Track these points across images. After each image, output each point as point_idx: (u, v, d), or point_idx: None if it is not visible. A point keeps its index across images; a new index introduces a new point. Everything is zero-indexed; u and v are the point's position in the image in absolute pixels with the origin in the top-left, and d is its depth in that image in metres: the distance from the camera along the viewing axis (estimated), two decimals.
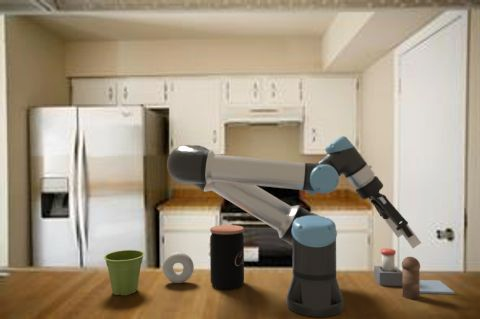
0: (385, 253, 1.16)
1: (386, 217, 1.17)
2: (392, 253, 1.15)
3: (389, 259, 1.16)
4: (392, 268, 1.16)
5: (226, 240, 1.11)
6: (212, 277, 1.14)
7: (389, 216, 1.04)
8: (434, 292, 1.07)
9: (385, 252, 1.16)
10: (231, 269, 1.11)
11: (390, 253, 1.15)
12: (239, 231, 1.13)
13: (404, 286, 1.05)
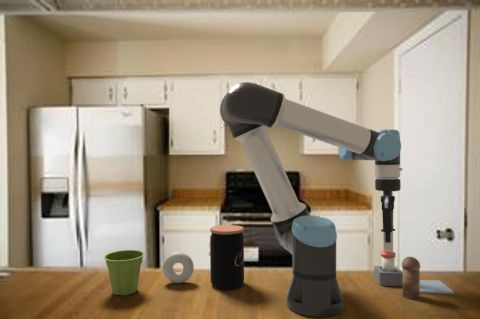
0: (385, 255, 1.16)
1: None
2: (392, 255, 1.15)
3: (389, 262, 1.16)
4: (392, 270, 1.16)
5: (226, 240, 1.11)
6: (212, 277, 1.14)
7: None
8: (434, 292, 1.07)
9: (385, 254, 1.16)
10: (231, 269, 1.11)
11: (390, 255, 1.15)
12: (239, 231, 1.13)
13: (404, 286, 1.05)
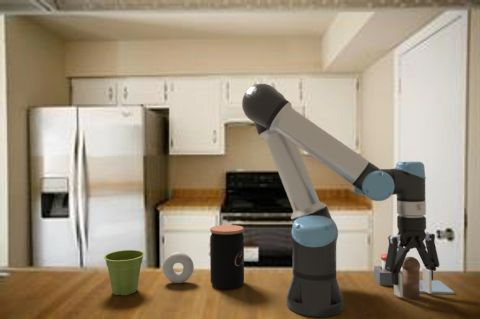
0: (385, 259, 1.16)
1: (426, 266, 1.07)
2: None
3: None
4: None
5: (226, 240, 1.11)
6: (212, 277, 1.14)
7: (395, 256, 1.05)
8: (434, 292, 1.07)
9: (385, 258, 1.16)
10: (231, 269, 1.11)
11: None
12: (239, 231, 1.13)
13: (404, 286, 1.05)
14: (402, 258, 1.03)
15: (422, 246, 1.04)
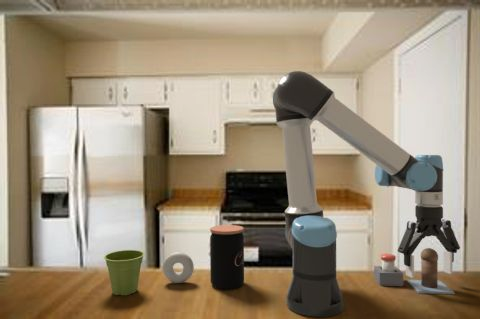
0: (385, 259, 1.16)
1: (447, 249, 1.14)
2: (392, 259, 1.15)
3: (389, 265, 1.16)
4: None
5: (226, 240, 1.11)
6: (212, 277, 1.14)
7: None
8: (434, 292, 1.07)
9: (385, 258, 1.16)
10: (231, 269, 1.11)
11: (390, 259, 1.15)
12: (239, 231, 1.13)
13: (423, 276, 1.12)
14: (417, 242, 1.10)
15: (440, 233, 1.11)
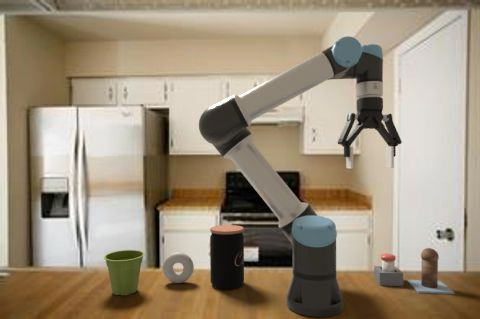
0: (385, 259, 1.16)
1: (389, 145, 1.13)
2: (392, 259, 1.15)
3: (389, 265, 1.16)
4: None
5: (226, 240, 1.11)
6: (212, 277, 1.14)
7: None
8: (434, 292, 1.07)
9: (385, 258, 1.16)
10: (231, 269, 1.11)
11: (390, 259, 1.15)
12: (239, 231, 1.13)
13: (423, 276, 1.12)
14: (356, 133, 1.09)
15: (380, 125, 1.10)
